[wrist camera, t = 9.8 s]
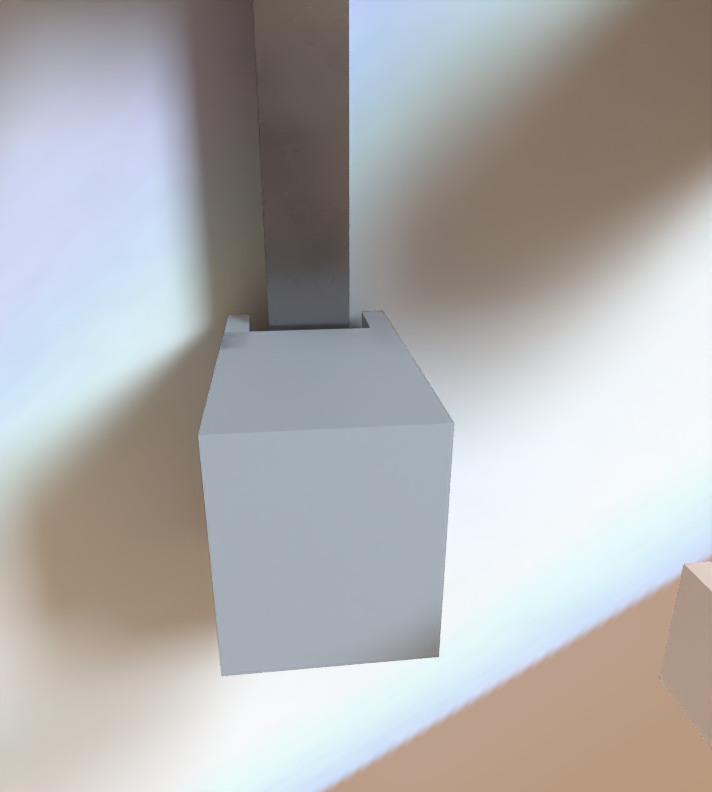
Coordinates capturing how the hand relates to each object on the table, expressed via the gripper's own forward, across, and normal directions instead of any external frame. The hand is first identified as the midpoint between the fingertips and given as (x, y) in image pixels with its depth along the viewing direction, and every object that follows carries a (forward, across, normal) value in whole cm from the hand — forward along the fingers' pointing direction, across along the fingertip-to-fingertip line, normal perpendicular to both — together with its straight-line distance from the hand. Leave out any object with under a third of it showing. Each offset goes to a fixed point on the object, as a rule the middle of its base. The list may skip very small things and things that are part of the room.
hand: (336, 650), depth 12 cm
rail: (+12, 0, +6) cm, 13 cm away
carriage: (+12, 0, 0) cm, 12 cm away
